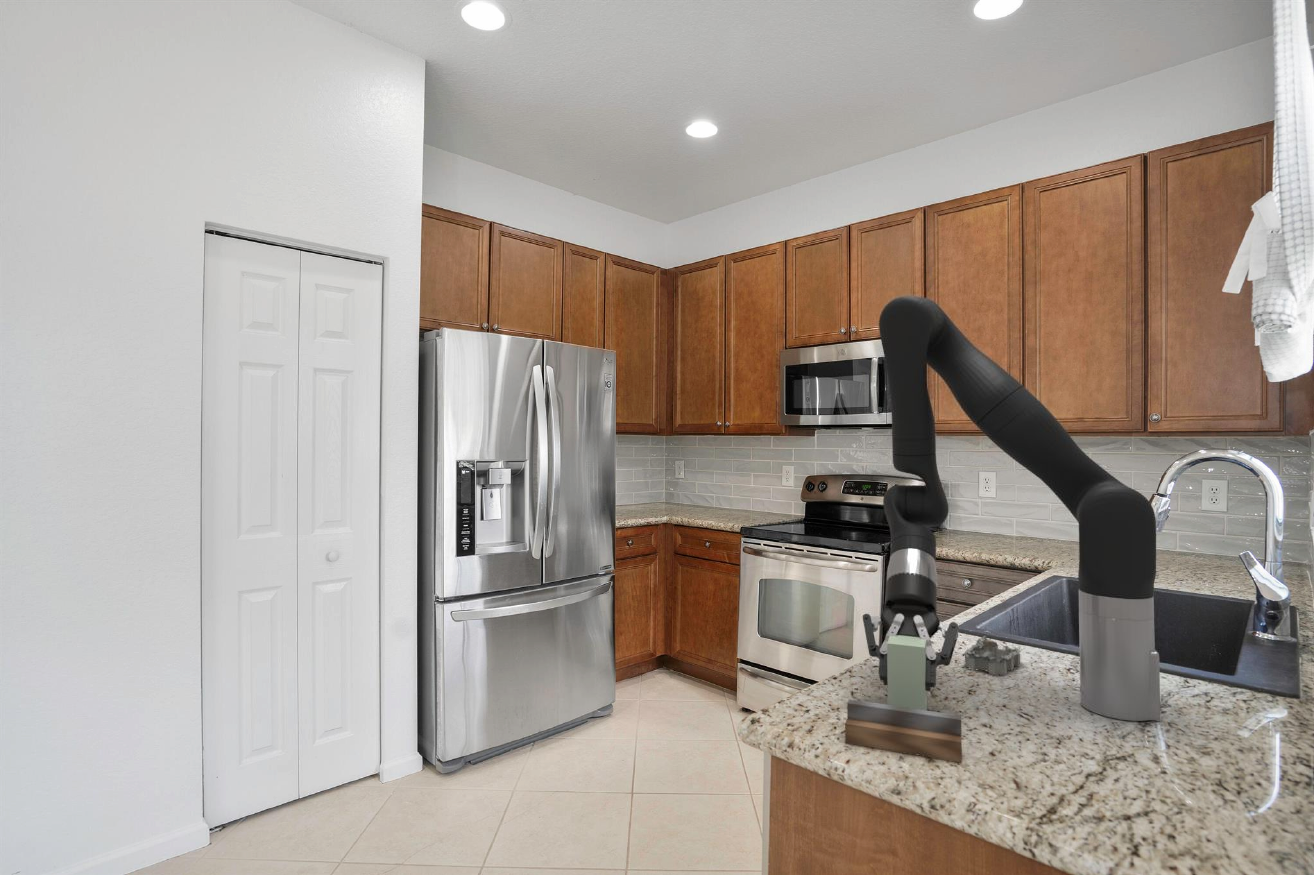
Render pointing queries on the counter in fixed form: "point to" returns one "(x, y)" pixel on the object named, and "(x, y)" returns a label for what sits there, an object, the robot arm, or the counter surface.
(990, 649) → the grey scalloped block
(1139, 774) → the counter surface
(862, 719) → the dock
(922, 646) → the green block
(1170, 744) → the counter surface
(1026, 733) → the counter surface
